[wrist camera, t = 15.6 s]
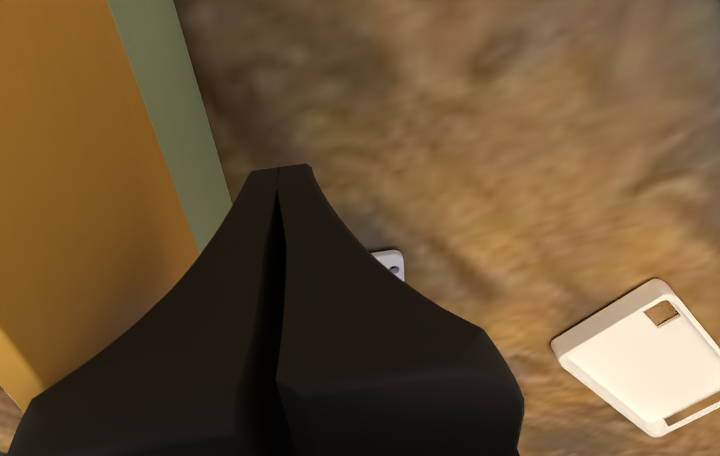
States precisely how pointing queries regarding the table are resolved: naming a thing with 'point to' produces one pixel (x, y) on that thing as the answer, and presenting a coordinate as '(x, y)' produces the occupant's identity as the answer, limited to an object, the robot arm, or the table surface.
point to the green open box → (175, 110)
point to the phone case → (644, 359)
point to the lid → (76, 194)
